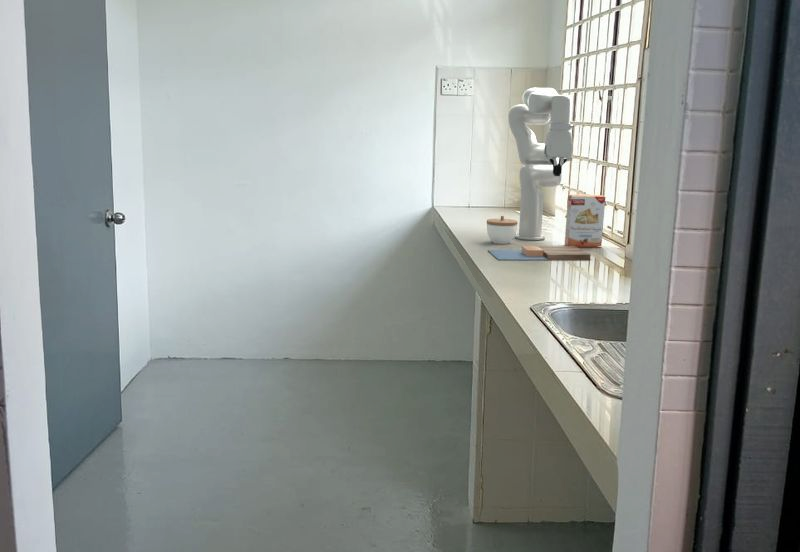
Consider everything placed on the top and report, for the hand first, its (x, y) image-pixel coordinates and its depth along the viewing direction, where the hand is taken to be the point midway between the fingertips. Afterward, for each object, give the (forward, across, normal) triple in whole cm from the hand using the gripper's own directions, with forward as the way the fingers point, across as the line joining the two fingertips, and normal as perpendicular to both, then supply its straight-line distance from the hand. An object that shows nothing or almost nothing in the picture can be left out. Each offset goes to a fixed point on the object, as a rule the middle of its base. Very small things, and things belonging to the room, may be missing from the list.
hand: (556, 175), depth 311 cm
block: (+27, +12, +13) cm, 33 cm away
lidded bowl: (+29, +17, -17) cm, 38 cm away
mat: (+29, +18, +13) cm, 36 cm away
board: (+29, 0, +13) cm, 32 cm away
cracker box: (+29, -15, -8) cm, 34 cm away
